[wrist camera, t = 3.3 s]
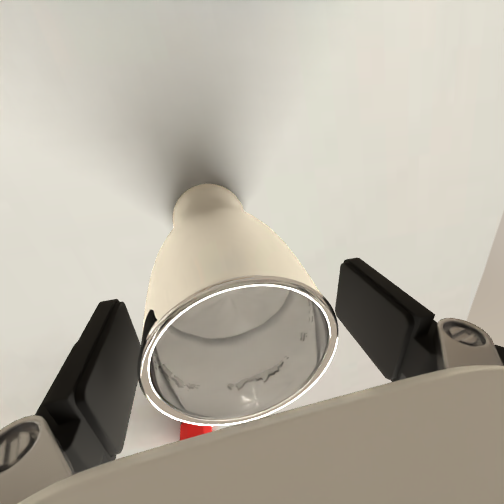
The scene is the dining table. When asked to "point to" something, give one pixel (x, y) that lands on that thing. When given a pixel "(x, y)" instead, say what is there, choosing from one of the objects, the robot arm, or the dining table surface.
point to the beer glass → (229, 317)
